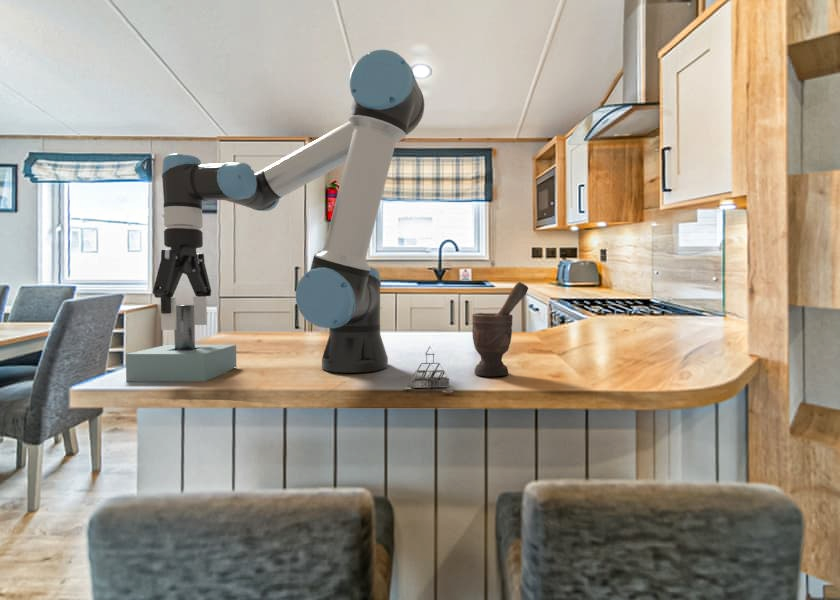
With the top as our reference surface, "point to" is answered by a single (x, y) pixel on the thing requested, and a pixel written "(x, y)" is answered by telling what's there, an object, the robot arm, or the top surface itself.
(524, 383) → the top surface
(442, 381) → the house of cards
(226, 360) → the bore block
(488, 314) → the mortar and pestle
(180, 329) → the pin
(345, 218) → the robot arm
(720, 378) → the top surface
